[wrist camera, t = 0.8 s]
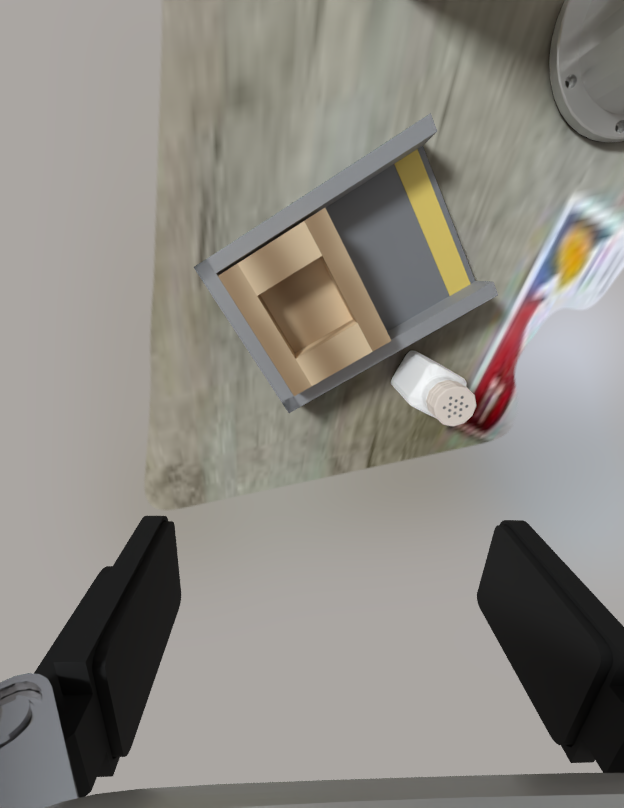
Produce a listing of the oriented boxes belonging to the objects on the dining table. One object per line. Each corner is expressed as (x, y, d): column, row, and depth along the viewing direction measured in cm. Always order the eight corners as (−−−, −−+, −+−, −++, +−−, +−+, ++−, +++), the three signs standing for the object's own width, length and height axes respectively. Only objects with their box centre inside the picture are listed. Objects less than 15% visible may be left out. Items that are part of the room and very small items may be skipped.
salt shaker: (408, 346, 35) (448, 371, 26) (442, 364, 35) (493, 395, 26) (386, 382, 36) (418, 418, 27) (420, 399, 36) (461, 439, 28)
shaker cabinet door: (320, 217, 29) (325, 207, 25) (378, 332, 33) (391, 340, 28) (228, 275, 30) (217, 275, 26) (293, 381, 34) (294, 396, 30)
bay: (412, 134, 29) (430, 113, 25) (474, 292, 33) (498, 295, 29) (205, 268, 31) (193, 267, 27) (289, 398, 36) (288, 413, 32)
